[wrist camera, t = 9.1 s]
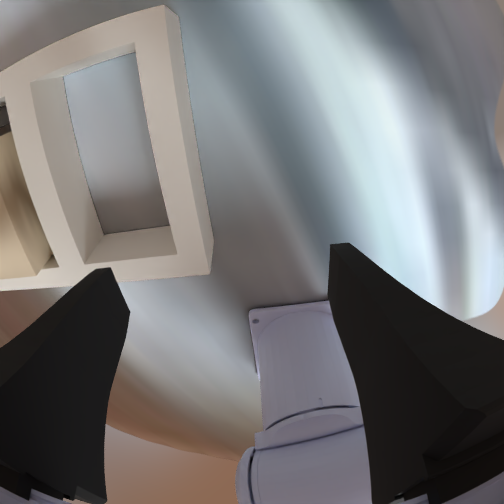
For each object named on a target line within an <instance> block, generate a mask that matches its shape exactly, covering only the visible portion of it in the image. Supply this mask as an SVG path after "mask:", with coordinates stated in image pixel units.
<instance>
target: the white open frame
mask: <svg viewBox="0 0 504 504" xmlns="http://www.w3.org/2000/svg"><path fill="white" fill-rule="evenodd" d="M133 52H136V57H137V64H138V71H139V77H140V84H141V90H142V96H143V102H144V107H145V113H146V118H147V124H148V129H149V134H150V139H151V144H152V149H153V154H154V159H155V163H156V168H157V172H158V177H159V181H160V186H161V190H162V194H163V199H164V203H165V207H166V211H167V215H168V219H169V223H170V226H164V227H156V228H149V229H141V230H134V231H127V232H120V233H113V234H106V235H104V233H103V231H102V228H101V225H100V222H99V219H98V216H97V213H96V210H95V207H94V204H93V201H92V197H91V194H90V191H89V188H88V184H87V181H86V177H85V174H84V170H83V167H82V163H81V159H80V156H79V152H78V148H77V144H76V140H75V135H74V131H73V127H72V122H71V118H70V113H69V108H68V103H67V98H66V92H65V87H64V81H63V77H64V76H66V75H68V74H71V73H73V72H76V71H79V70H81V69H84V68H87V67H89V66H92V65H95V64H98V63H101V62H104V61H107V60H110V59H113V58H116V57H120V56H123V55H126V54H130V53H133ZM5 104H6V106H7V112H8V116H9V121H10V126H11V130H12V134H13V138H14V142H15V146H16V150H17V154H18V157H19V161H20V164H21V168H22V171H23V174H24V178H25V181H26V184H27V187H28V190H29V193H30V196H31V199H32V202H33V204H34V207H35V210H36V213H37V215H38V218H39V220H40V223H41V225H42V228H43V230H44V233H45V235H46V238H47V240H48V243H49V245H50V247H51V249H52V252H53V255H52V256H51V257H50V258H49V260H48V261H47V262H46V264H45V265H44V266H43V268H42V269H41V270H40V272H39V273H38V274H37V276H32V277H21V278H11V279H1V280H0V291H6V290H22V289H37V288H52V287H65V286H75V285H76V284H77V283H78V282H79V281H81V280H82V279H83V278H84V277H85V276H87V275H88V274H89V273H91V272H92V271H93V270H95V269H98V268H107V267H111V269H112V271H113V274H114V276H115V279H116V281H117V282H129V281H141V280H153V279H164V278H175V277H186V276H197V275H207V274H210V271H211V263H212V255H213V247H214V237H213V232H212V227H211V221H210V216H209V210H208V205H207V199H206V194H205V188H204V182H203V176H202V171H201V165H200V159H199V153H198V147H197V141H196V134H195V128H194V122H193V115H192V109H191V102H190V95H189V88H188V82H187V74H186V67H185V60H184V53H183V45H182V37H181V29H180V21H179V16H177V15H176V14H175V13H174V12H173V11H171V10H170V9H169V8H168V7H166V6H165V5H164V4H163V5H159V6H155V7H151V8H147V9H144V10H140V11H136V12H133V13H130V14H126V15H123V16H120V17H117V18H114V19H111V20H108V21H105V22H102V23H100V24H97V25H94V26H92V27H89V28H87V29H84V30H82V31H79V32H77V33H74V34H72V35H70V36H67V37H65V38H63V39H61V40H59V41H56V42H54V43H52V44H50V45H48V46H46V47H44V48H42V49H40V50H38V51H36V52H34V53H32V54H31V55H29V56H27V57H25V58H23V59H21V60H20V61H18V62H16V63H14V64H13V65H11V66H9V67H8V68H6V69H4V70H3V71H1V72H0V107H2V106H4V105H5Z"/></svg>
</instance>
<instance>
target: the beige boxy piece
mask: <svg viewBox="0 0 504 504" xmlns="http://www.w3.org/2000/svg"><path fill="white" fill-rule="evenodd" d="M52 255H53V252H52V249H51V247H50V245H49V243H48V240H47V238H46V235H45V233H44V230H43V228H42V225H41V223H40V220H39V218H38V215H37V213H36V210H35V207H34V204H33V202H32V199H31V196H30V193H29V190H28V187H27V184H26V181H25V178H24V174H23V171H22V168H21V164H20V161H19V157H18V154H17V150H16V146H15V142H14V138H13V134H12V130H11V126H10V124H8V125H6V126H3V127H1V128H0V280H1V279H11V278H21V277H32V276H37V274H38V273H39V272H40V270H41V269H42V268H43V266H44V265H45V264H46V262H47V261H48V260H49V258H50V257H51V256H52Z"/></svg>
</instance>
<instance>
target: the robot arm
mask: <svg viewBox="0 0 504 504" xmlns="http://www.w3.org/2000/svg"><path fill="white" fill-rule="evenodd" d="M328 299H329V301H321V302H313V303H305V304H297V305H288V306H279V307H269V308H259V309H252V310H250V311H249V314H248V315H249V323H250V329H251V336H252V342H253V348H254V355H255V361H256V367H257V373H258V379H259V380H260V387H261V403H262V419H263V431H262V432H258V433H255V447H251V448H248V449H247V450H246V451H245V452H244V454H243V456H242V458H241V459H240V461H239V463H238V466H237V470H236V480H235V484H236V494H237V499H238V503H239V504H504V340H502V339H499V338H497V337H494V336H492V335H489V334H487V333H485V332H483V331H481V330H478V329H476V328H473V327H472V326H470V325H468V324H466V323H464V322H462V321H460V320H458V319H456V318H454V317H453V316H451V315H449V314H447V313H445V312H444V311H442V310H440V309H439V308H437V307H435V306H434V305H432V304H431V303H429V302H427V301H426V300H424V299H423V298H421V297H420V296H418V295H417V294H415V293H414V292H412V291H411V290H410V289H408V288H407V287H405V286H404V285H402V284H401V283H400V282H398V281H397V280H396V279H394V278H393V277H392V276H391V275H389V274H388V273H387V272H385V271H384V270H383V269H382V268H380V267H379V266H378V265H377V264H375V263H374V262H373V261H372V260H370V259H369V258H368V257H367V256H365V255H364V254H363V253H362V252H360V251H359V250H358V249H357V248H355V247H354V246H353V245H351V244H350V243H340V244H331V245H330V262H329V280H328ZM129 316H130V310H129V308H128V306H127V304H126V302H125V299H124V297H123V295H122V293H121V290H120V288H119V286H118V283H117V281H116V279H115V276H114V274H113V271H112V269H111V267H107V268H98V269H95V270H93V271H92V272H91V273H89V274H88V275H87V276H85V277H84V278H83V279H82V280H81V281H79V282H78V283H77V284H76V285H75V286H74V287H73V288H71V289H70V290H69V291H68V292H67V293H66V294H65V295H64V296H63V297H61V298H60V299H59V300H58V301H57V302H56V303H55V304H54V305H53V306H52V307H50V308H49V309H48V310H47V311H46V312H45V313H44V314H42V315H41V316H40V317H39V318H38V319H37V320H36V321H35V322H34V323H32V324H31V325H30V326H29V327H28V328H26V329H25V330H24V331H23V332H21V333H20V334H19V335H18V336H16V337H15V338H14V339H12V340H11V341H10V342H8V343H7V344H6V345H4V346H3V347H1V348H0V504H71V503H68V502H65V501H63V498H66V499H69V500H72V501H73V500H74V499H77V500H80V501H84V502H87V503H91V504H104V503H106V502H107V495H106V486H105V474H104V439H105V438H104V437H105V424H106V415H107V407H108V400H109V396H110V391H111V387H112V383H113V380H114V376H115V373H116V369H117V366H118V362H119V359H120V356H121V352H122V349H123V345H124V342H125V339H126V334H127V328H128V322H129ZM254 319H258V320H254Z"/></svg>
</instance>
